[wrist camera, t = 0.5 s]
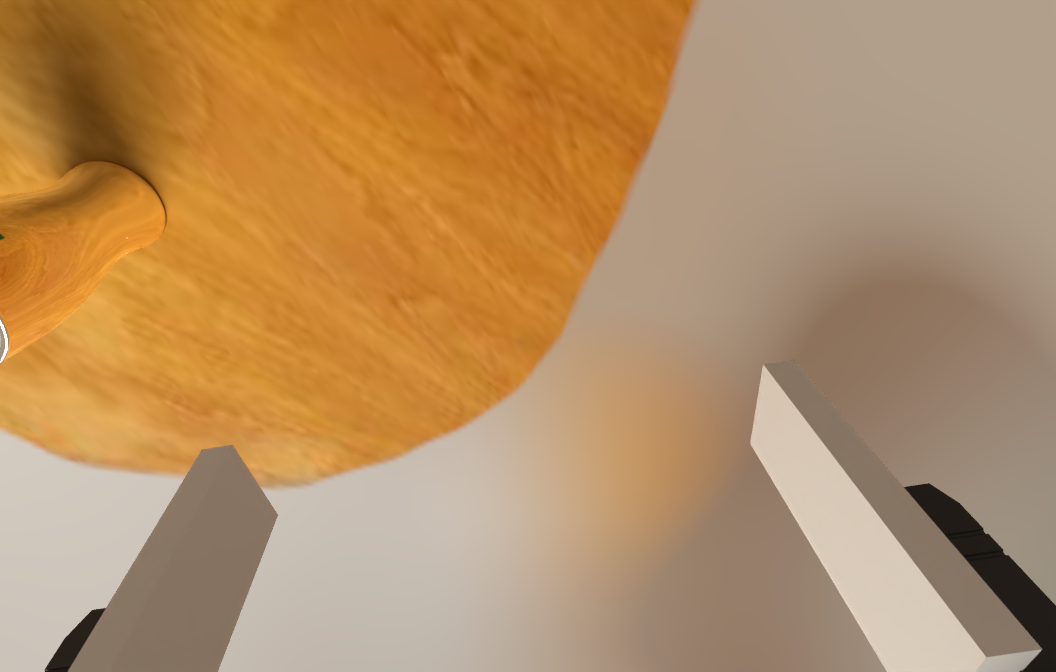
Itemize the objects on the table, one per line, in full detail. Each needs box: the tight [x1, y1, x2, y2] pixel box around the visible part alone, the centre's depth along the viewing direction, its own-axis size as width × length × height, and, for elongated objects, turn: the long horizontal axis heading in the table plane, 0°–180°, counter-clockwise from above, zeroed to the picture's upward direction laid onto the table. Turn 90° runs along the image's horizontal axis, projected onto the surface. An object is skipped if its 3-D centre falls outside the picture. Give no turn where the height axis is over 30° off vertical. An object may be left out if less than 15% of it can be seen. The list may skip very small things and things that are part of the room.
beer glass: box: [0, 161, 166, 364], centre depth 29 cm, size 7×7×15 cm
